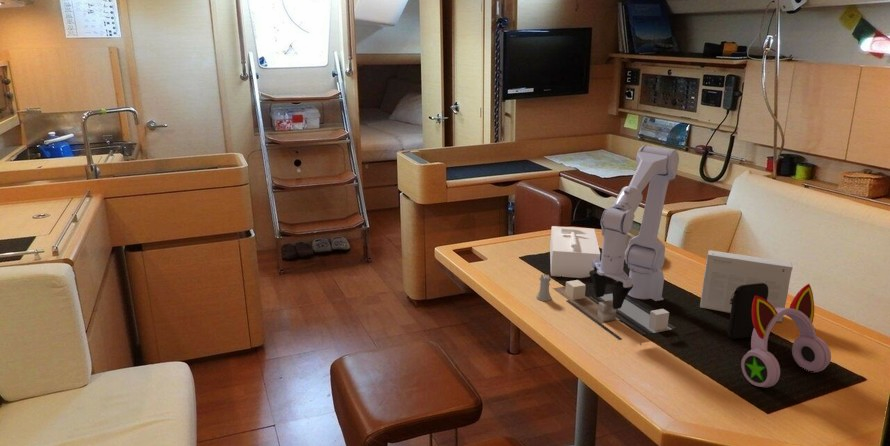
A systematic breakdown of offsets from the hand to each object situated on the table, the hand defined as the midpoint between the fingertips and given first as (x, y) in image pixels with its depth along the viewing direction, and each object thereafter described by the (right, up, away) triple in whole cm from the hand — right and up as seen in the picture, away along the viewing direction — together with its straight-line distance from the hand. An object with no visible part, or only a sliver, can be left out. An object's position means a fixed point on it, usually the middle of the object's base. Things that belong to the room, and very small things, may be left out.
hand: (608, 302), depth 167 cm
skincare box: (+39, -4, +10) cm, 41 cm away
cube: (-6, 0, +15) cm, 16 cm away
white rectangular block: (-1, +7, +43) cm, 44 cm away
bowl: (+23, +10, +51) cm, 57 cm away
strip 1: (-4, -3, +11) cm, 12 cm away
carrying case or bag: (+33, -9, -5) cm, 34 cm away
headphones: (+34, -14, -22) cm, 43 cm away
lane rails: (+4, -5, +4) cm, 7 cm away
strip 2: (+8, -4, +6) cm, 11 cm away
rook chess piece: (-15, -2, +13) cm, 20 cm away
